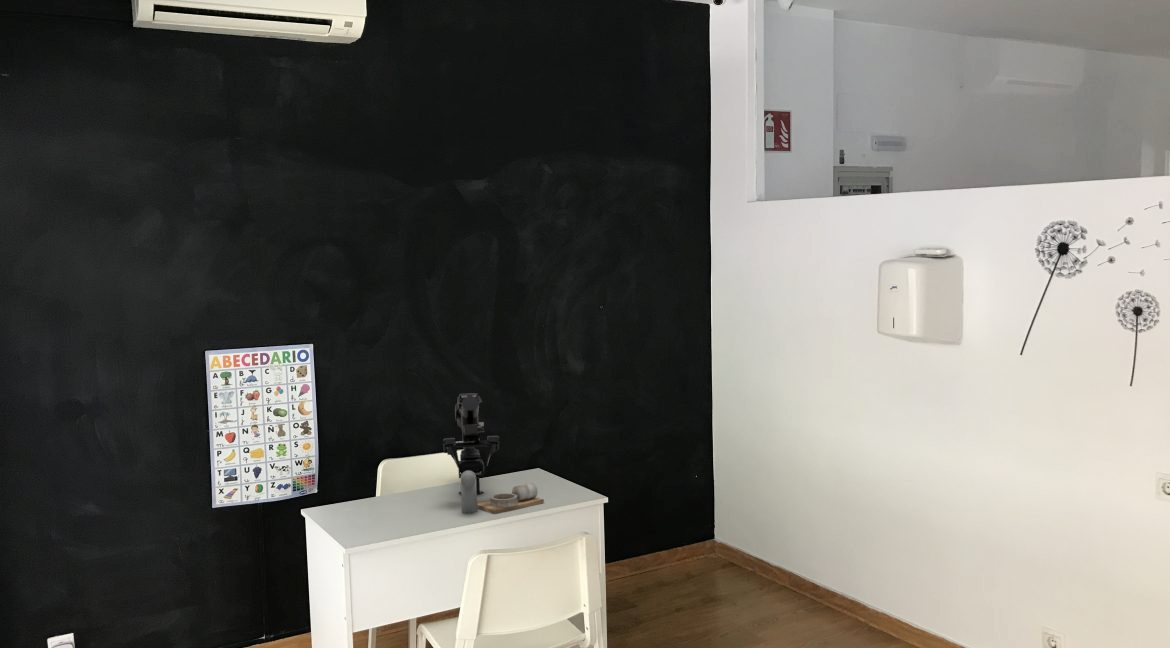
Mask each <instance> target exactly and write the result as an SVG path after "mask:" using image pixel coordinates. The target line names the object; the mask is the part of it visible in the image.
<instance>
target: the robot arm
mask: <svg viewBox="0 0 1170 648" xmlns="http://www.w3.org/2000/svg"><path fill="white" fill-rule="evenodd" d="M454 406H455V407H454V413H455V421H457V426H458V427H459V429H461V434H462V435H461V437H462V438H461V439H462V441H461V440H460V441H456V438H455V437H447V438H444V439H443V440H442V445H443V446H442V447H443V448H442V449H443V451H442V452H443V453H445V454H447V456H451V458H452V459H453V460H454V463H455V466H456V467H457V468H458V469H457V470H458V471H457V472H458V479H461V475H462V473H463V472H465V471H468V470H469V471H472V472H474V473H475V475H476V489H477V495H480V494H479V493H482V494H484V491H482V490H481V484H480V477H481V478H482V477H484V476H485V467H488V465H489V462H490V457H491V456H492V454H493V453H495V452H496V451H499V450H500V437H499V435H487V439H483V440H480V438H481V433H485V421H479V408H481V406H483V401H482V398H481V396H479V395H478V393H474V392H473V393H471V392H470V393H459V396H457V402H456V403H455V404H454ZM477 447H486V453H485V463H484V461H483V459H481V454H480V450H479V449H478V448H477ZM457 448H463V449H461V451H460V456H459V455H458V450H457ZM459 457H460V458H459ZM459 459H460V460H459ZM458 494H459V495H461V491H459V492H458Z"/></svg>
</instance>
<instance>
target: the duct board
mask: <svg viewBox="0 0 1170 648" xmlns="http://www.w3.org/2000/svg"><path fill="white" fill-rule="evenodd" d="M538 493H539V492H538V487H537V485H536V483H534V482H530V483H524V484H521V485H517V486H513V488H512V490H511V493H510V492H508V493H497V494H496V493H495V494H492V495H491V496H490V498H489V500H486V501H482V502H480V501H479V502H477V509H478V508H479V509H478V510H481V509H482V510H481V511H484V510H485V511H484V512H486V511H487V513H489V512H490V514H492V513H493V515H496V514H502V513H505V512H509V511H510V512H511V511H514V510H518V509H523V507H524V508H527V507H532V506H537V505H541V504H545V499H543V498H540V497H538Z"/></svg>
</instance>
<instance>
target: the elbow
mask: <svg viewBox="0 0 1170 648" xmlns="http://www.w3.org/2000/svg"><path fill="white" fill-rule="evenodd" d="M460 492H461V494H460V497H461V501H460V502H461V513H462V514H468V513H470V514H475V513H477V512H478V508H477V503H478V494H477V489H476V475H475V473H474V472H472V471H469V470H468V471H465V472H463V473H462V475H461V478H460ZM474 512H475V513H474Z"/></svg>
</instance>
